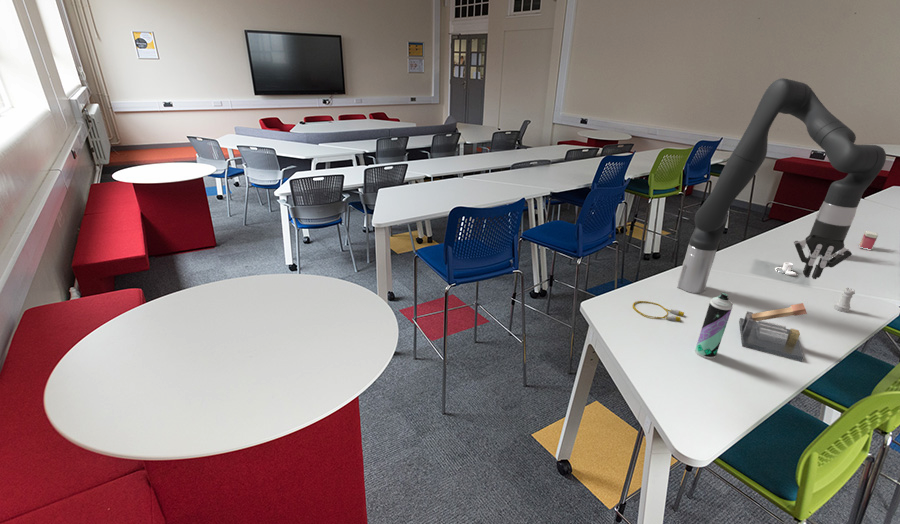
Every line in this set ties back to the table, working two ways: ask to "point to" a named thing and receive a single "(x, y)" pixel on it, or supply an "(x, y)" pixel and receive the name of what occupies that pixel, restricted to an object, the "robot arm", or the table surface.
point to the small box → (868, 239)
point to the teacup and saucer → (787, 268)
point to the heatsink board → (770, 345)
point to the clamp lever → (778, 313)
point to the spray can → (714, 326)
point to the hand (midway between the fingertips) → (810, 277)
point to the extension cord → (671, 318)
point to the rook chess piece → (845, 300)
